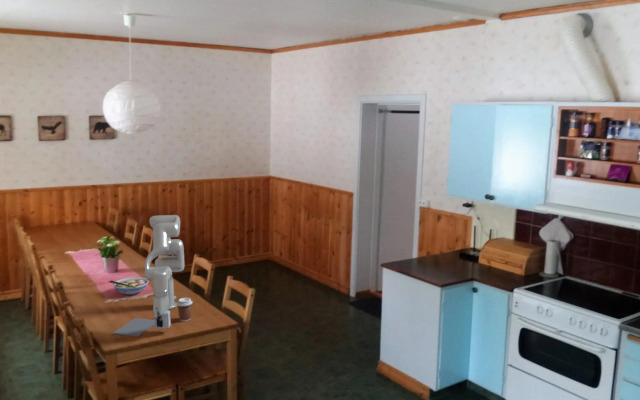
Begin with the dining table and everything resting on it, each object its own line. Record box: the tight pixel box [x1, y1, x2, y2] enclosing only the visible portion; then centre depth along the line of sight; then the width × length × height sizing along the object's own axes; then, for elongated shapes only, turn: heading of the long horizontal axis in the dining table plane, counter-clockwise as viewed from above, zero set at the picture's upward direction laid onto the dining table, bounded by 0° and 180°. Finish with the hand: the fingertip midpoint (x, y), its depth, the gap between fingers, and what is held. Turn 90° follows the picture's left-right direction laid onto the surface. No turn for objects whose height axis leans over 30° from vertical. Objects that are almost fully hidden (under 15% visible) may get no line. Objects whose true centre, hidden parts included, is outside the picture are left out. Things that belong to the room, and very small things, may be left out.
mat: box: [112, 317, 155, 337], centre depth 318 cm, size 22×15×1 cm
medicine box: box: [153, 310, 172, 329], centre depth 311 cm, size 8×4×9 cm, turn 91°
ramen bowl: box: [108, 276, 149, 296], centre depth 377 cm, size 25×23×8 cm
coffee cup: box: [176, 297, 193, 322], centre depth 330 cm, size 9×9×12 cm
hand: (162, 324), depth 312 cm, fingers closed on medicine box, 5 cm apart
